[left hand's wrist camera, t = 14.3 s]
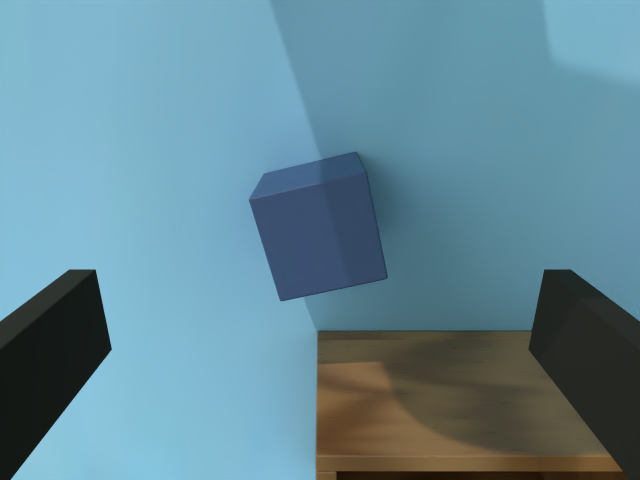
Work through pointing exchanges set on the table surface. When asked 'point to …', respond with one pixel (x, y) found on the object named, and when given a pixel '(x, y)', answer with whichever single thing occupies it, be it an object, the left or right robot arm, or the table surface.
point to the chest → (446, 410)
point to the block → (319, 227)
